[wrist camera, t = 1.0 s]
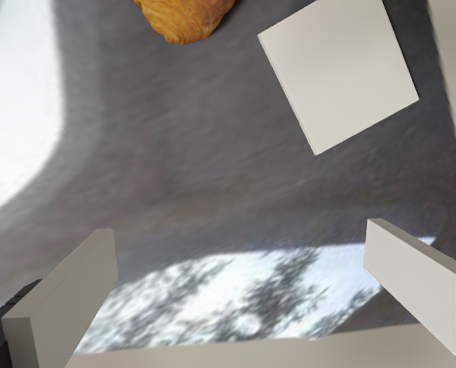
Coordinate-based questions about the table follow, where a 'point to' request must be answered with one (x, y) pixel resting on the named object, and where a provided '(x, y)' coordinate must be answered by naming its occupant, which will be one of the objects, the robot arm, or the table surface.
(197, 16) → the croissant
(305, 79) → the white mat
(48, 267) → the table surface
